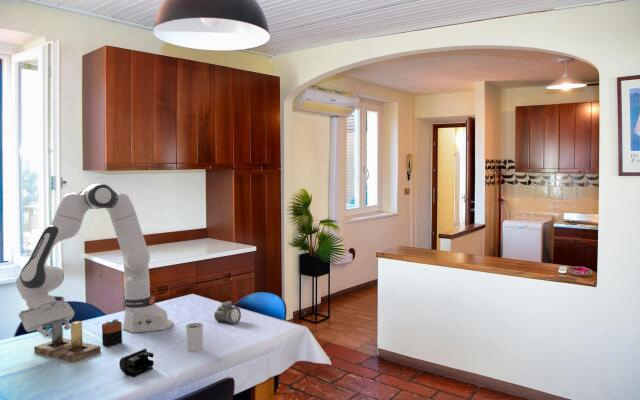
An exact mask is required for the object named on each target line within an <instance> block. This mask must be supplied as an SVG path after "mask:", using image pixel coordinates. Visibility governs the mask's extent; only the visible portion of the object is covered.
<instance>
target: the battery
mask: <svg viewBox="0 0 640 400" xmlns="http://www.w3.org/2000/svg"><path fill="white" fill-rule="evenodd" d="M122 323H123V322H121V321H119V319H118V318H117V319H116V318H115V319H113V320H112V321H106V322H105V323H102V324H101V336H102V341H101V342H102V346H105V347H107V348H109V347H112V346H116V345H119V344H122V343H123V329H122V327H123V324H122Z"/></svg>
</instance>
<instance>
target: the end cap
mask: <svg viewBox="0 0 640 400" xmlns="http://www.w3.org/2000/svg"><path fill="white" fill-rule="evenodd" d="M154 356H155V355H154V352H151V351H148V350H147V348H143V349H140V350H138V351H135V352H133V353H131V354H128V355H125V356H122V357H121V358H120V359H119V364H118V365H119V369H120V371H121V373H123V374H124V375H126V376H128V377H131V378H135V377H138V376H140V375H143V374H145V373H147V372H150V371H151V370H153V369H154V367H153V366H154V362H155V361H154V360H153V359H149V358H154Z"/></svg>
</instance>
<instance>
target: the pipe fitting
mask: <svg viewBox="0 0 640 400" xmlns="http://www.w3.org/2000/svg"><path fill="white" fill-rule="evenodd" d="M241 318H242V312H241V309H240V308H239V306H233V302H232V301H231V300H227V301H224V302H222V303H221V304H220V306H218V307H217V309H216V310H215V311H214V320H215V321H216V322H228V323H229V324H232V325H236V324H238V323H239V322H240V321H241Z"/></svg>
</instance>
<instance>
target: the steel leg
mask: <svg viewBox="0 0 640 400" xmlns="http://www.w3.org/2000/svg"><path fill="white" fill-rule="evenodd" d="M50 329H51V341H52V347H55V348H56V347H59V346H62V345H63V338H64V335H63V334H64V331H63V329H64V326H63V322H62V320H55V321H52V322H51V328H50Z"/></svg>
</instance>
